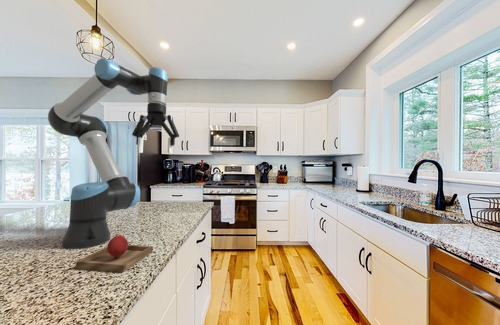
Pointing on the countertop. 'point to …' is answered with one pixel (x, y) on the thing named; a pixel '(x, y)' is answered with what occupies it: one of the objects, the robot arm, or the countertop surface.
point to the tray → (114, 259)
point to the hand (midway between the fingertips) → (154, 153)
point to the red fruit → (117, 246)
